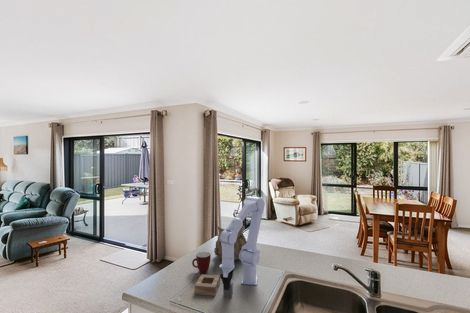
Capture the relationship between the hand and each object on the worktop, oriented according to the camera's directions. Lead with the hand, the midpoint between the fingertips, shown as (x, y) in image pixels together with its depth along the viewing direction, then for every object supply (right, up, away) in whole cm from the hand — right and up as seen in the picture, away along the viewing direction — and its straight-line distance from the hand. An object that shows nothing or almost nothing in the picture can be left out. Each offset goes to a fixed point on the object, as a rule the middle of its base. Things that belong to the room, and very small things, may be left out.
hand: (228, 285), depth 110 cm
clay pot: (+1, -5, +42) cm, 43 cm away
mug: (-16, -5, +22) cm, 28 cm away
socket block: (-10, -5, +6) cm, 13 cm away
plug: (0, -5, 0) cm, 5 cm away
